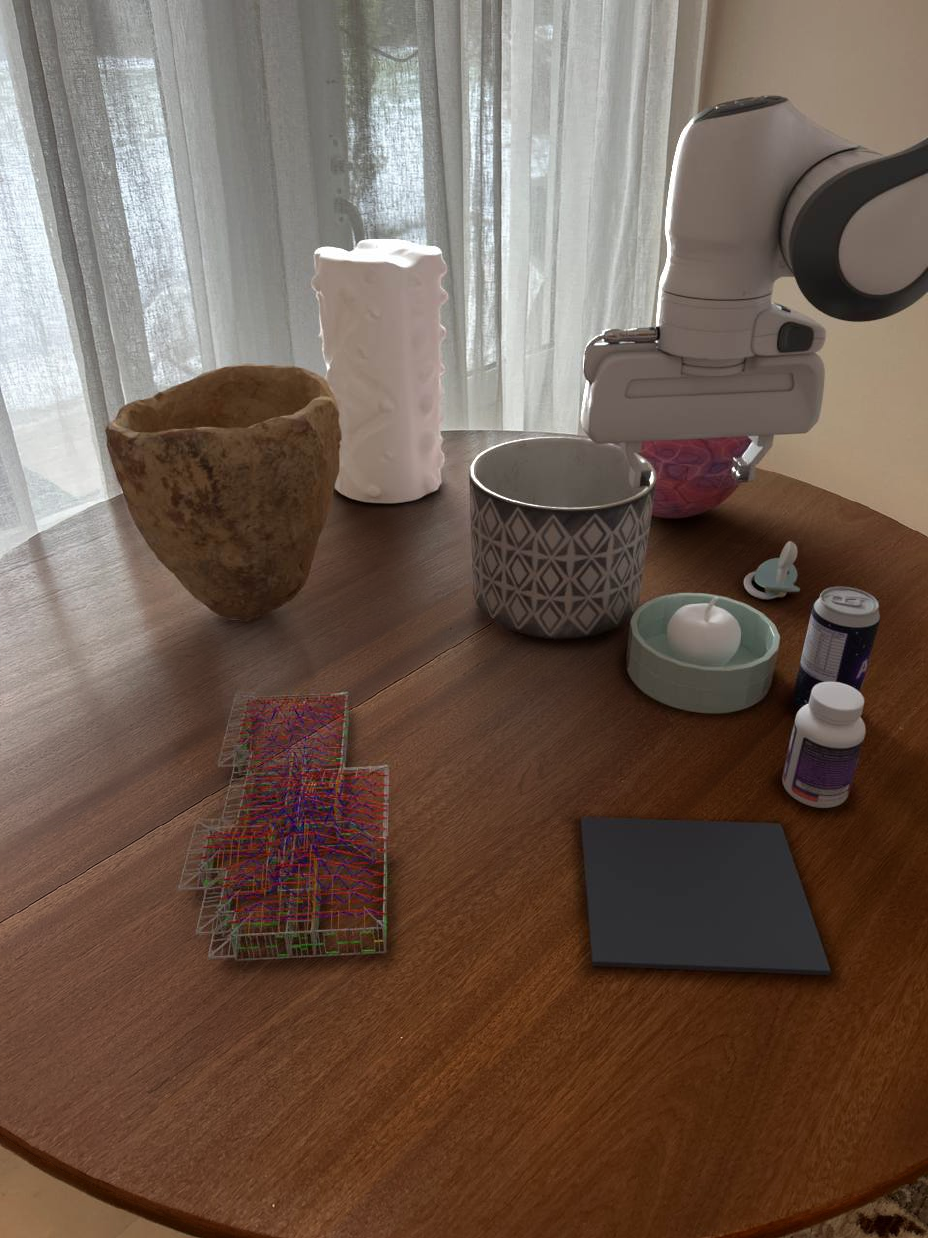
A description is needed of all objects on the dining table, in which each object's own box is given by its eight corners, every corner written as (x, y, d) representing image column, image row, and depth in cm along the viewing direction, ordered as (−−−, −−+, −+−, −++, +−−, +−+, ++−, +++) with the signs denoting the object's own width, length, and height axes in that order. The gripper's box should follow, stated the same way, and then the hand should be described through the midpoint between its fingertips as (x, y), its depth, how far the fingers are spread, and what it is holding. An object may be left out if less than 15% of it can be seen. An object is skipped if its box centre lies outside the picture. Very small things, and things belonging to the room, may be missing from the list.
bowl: (203, 554, 115) (168, 353, 102) (375, 571, 112) (363, 364, 98) (108, 652, 97) (51, 421, 84) (312, 677, 93) (286, 439, 80)
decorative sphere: (567, 521, 123) (576, 372, 112) (627, 471, 137) (640, 335, 127) (713, 558, 114) (738, 399, 103) (761, 500, 128) (787, 356, 118)
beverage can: (853, 733, 85) (884, 621, 79) (789, 720, 87) (814, 609, 80) (854, 698, 89) (883, 590, 83) (792, 686, 91) (816, 579, 85)
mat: (780, 827, 75) (781, 823, 74) (829, 975, 63) (831, 971, 62) (580, 821, 75) (581, 816, 75) (592, 966, 63) (592, 961, 63)
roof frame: (232, 712, 88) (224, 666, 85) (391, 705, 89) (389, 660, 86) (164, 983, 62) (150, 931, 60) (389, 971, 63) (385, 919, 60)
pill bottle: (861, 803, 77) (889, 709, 72) (805, 816, 76) (829, 721, 71) (822, 762, 81) (845, 670, 76) (768, 773, 80) (788, 682, 75)
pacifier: (744, 603, 105) (799, 607, 104) (750, 554, 102) (808, 558, 101) (741, 573, 111) (794, 576, 110) (748, 525, 108) (802, 529, 107)
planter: (491, 664, 95) (493, 517, 86) (454, 574, 111) (452, 443, 102) (668, 642, 98) (687, 499, 89) (607, 558, 114) (618, 430, 105)
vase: (307, 481, 135) (284, 247, 118) (394, 452, 144) (384, 232, 127) (380, 517, 124) (366, 267, 107) (468, 484, 134) (468, 249, 117)
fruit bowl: (753, 634, 99) (761, 594, 97) (786, 715, 87) (796, 672, 84) (620, 631, 100) (624, 591, 97) (634, 711, 88) (639, 668, 85)
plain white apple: (736, 690, 90) (749, 619, 85) (661, 681, 91) (671, 611, 87) (733, 650, 95) (745, 583, 91) (663, 643, 97) (671, 576, 92)
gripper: (594, 340, 72) (584, 503, 79) (846, 329, 74) (814, 490, 81) (577, 320, 77) (569, 475, 85) (812, 311, 79) (784, 463, 86)
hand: (690, 482), depth 83 cm, fingers open, 8 cm apart
